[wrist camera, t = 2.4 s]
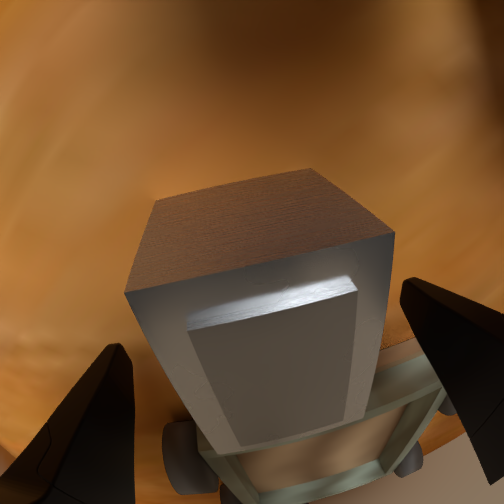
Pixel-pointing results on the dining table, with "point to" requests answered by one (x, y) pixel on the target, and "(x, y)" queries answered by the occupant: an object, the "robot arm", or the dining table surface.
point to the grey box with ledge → (265, 305)
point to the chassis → (320, 443)
